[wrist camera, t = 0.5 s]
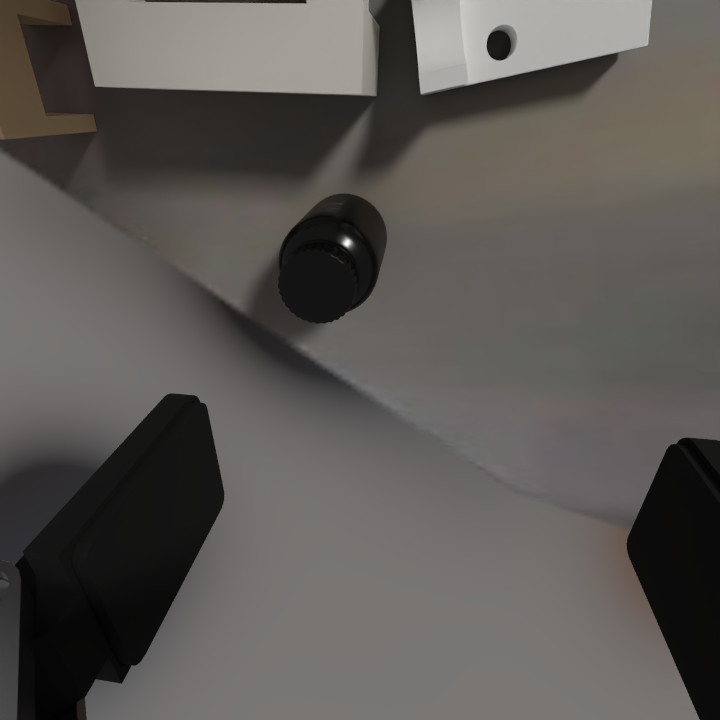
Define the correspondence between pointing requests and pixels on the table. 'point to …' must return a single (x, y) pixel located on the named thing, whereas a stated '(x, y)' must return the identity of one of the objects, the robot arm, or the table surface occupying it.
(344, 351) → the table surface
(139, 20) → the white frame with rod
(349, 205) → the supplement bottle
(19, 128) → the tan c-channel block
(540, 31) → the bracket
